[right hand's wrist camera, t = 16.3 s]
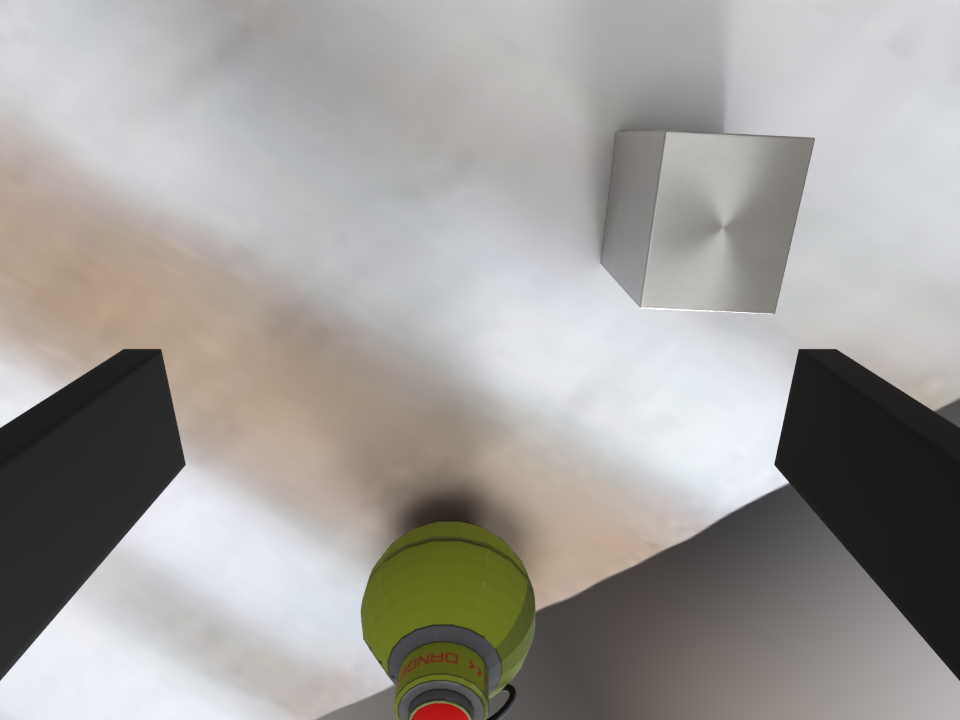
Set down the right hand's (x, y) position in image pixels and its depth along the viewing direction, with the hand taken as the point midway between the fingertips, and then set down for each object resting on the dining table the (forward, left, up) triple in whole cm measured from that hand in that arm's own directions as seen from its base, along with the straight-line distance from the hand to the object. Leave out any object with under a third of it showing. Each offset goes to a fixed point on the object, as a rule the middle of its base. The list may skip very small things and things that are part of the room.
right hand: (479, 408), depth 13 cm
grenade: (+24, +7, -27) cm, 37 cm away
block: (-5, +10, -27) cm, 29 cm away
